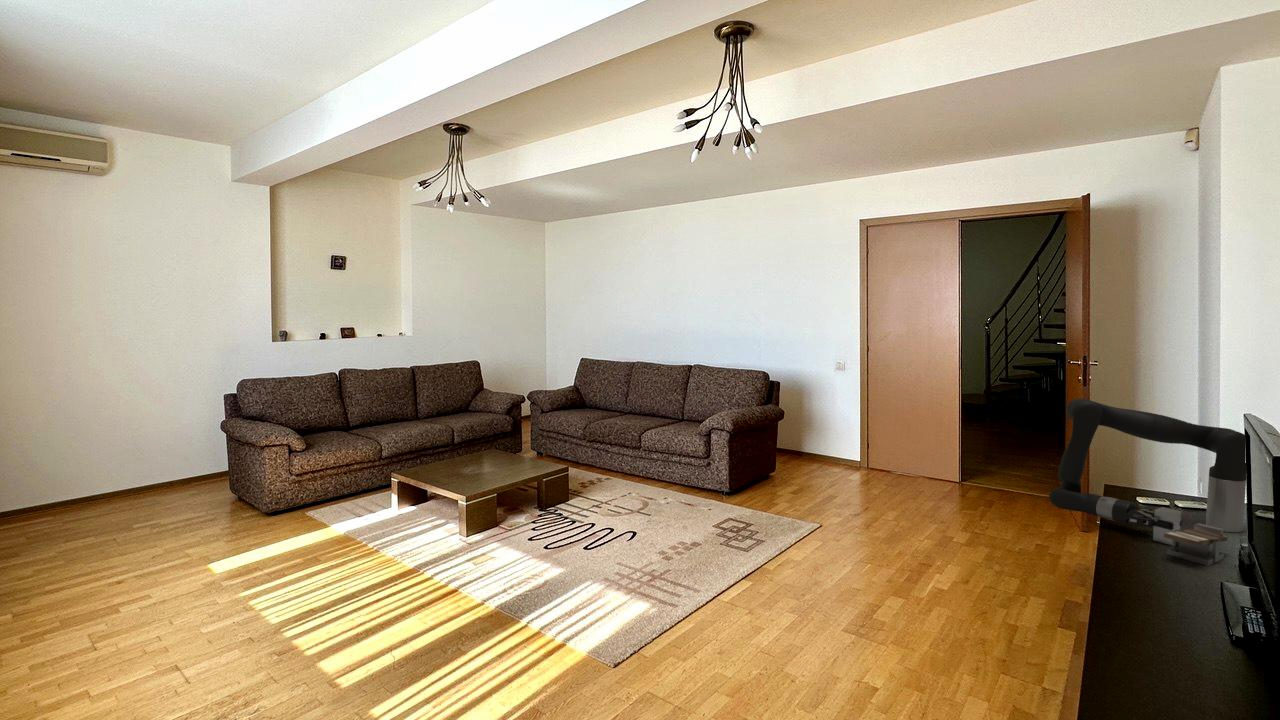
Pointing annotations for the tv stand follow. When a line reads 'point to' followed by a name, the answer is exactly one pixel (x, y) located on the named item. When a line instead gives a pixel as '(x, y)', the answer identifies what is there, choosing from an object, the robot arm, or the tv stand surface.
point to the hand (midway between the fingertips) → (1177, 525)
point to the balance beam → (1198, 535)
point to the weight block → (1167, 516)
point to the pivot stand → (1196, 552)
